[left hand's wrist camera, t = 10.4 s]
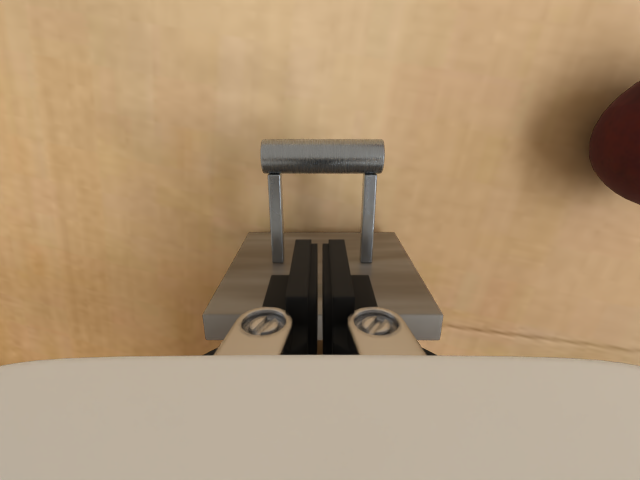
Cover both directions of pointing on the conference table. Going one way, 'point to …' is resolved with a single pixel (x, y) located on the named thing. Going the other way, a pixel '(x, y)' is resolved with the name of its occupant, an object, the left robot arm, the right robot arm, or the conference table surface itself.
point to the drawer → (362, 247)
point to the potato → (619, 145)
